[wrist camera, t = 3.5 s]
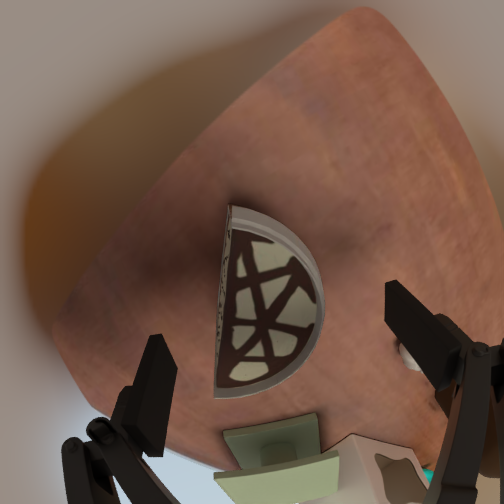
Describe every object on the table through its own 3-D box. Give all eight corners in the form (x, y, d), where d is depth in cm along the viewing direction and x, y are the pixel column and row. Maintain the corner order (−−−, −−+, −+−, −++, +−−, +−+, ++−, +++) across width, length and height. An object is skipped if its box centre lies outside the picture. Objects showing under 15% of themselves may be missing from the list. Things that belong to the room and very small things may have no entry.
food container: (281, 325, 27) (304, 405, 18) (215, 321, 27) (213, 403, 17) (307, 194, 23) (358, 231, 14) (230, 184, 22) (233, 214, 13)
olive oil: (439, 369, 33) (526, 495, 10) (487, 343, 33) (574, 444, 10) (425, 411, 37) (487, 522, 14) (471, 387, 37) (536, 481, 14)
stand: (239, 470, 38) (242, 511, 30) (213, 427, 32) (213, 479, 25) (325, 453, 38) (337, 493, 30) (322, 405, 32) (339, 455, 25)
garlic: (391, 362, 31) (409, 391, 26) (393, 328, 29) (415, 357, 24) (431, 345, 31) (451, 370, 26) (435, 311, 29) (460, 335, 24)
